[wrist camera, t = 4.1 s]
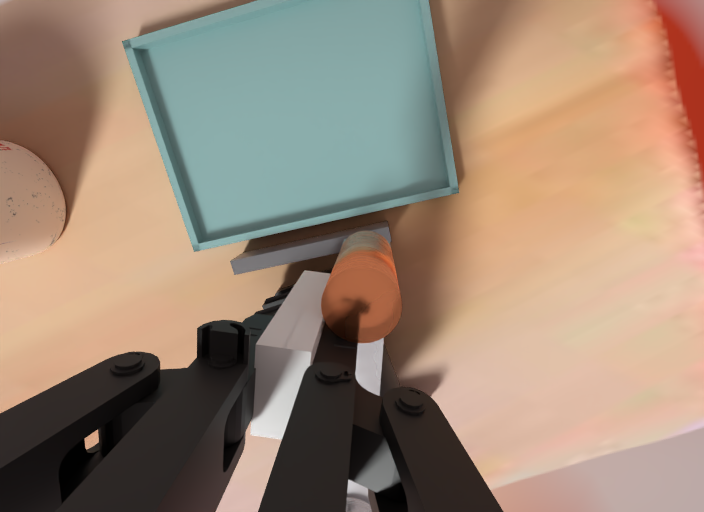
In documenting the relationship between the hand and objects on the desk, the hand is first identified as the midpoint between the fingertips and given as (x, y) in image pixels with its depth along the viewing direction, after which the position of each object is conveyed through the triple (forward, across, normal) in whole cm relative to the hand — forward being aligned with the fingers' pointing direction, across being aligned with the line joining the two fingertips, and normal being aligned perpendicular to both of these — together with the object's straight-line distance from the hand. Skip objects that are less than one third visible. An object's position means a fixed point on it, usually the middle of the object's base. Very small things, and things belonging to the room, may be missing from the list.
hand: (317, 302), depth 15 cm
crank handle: (+3, +2, -6) cm, 7 cm away
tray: (+11, -4, +8) cm, 14 cm away
